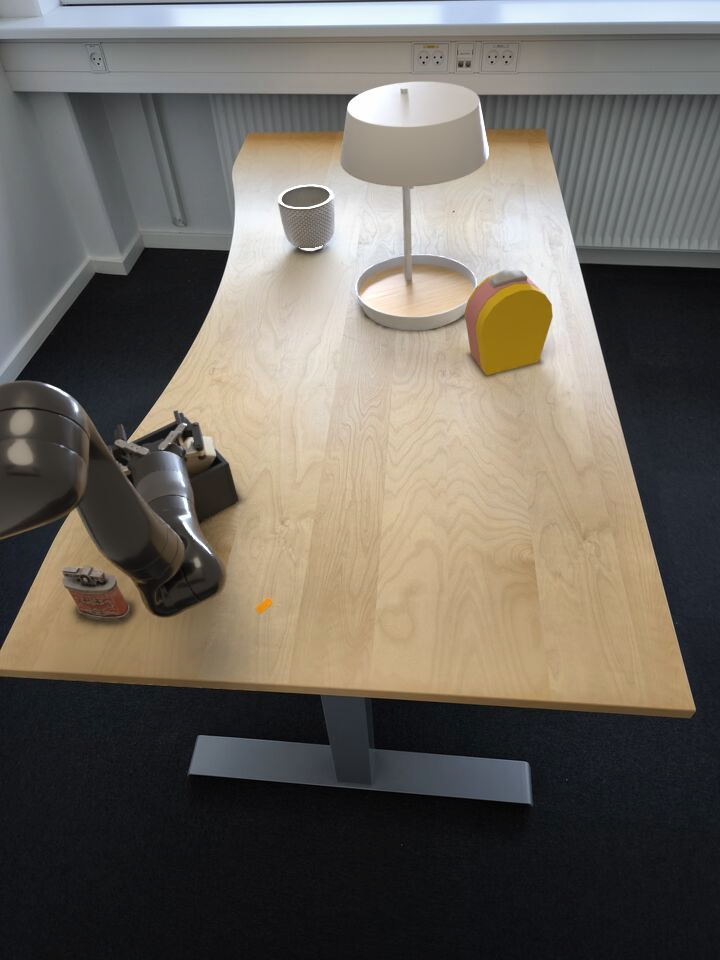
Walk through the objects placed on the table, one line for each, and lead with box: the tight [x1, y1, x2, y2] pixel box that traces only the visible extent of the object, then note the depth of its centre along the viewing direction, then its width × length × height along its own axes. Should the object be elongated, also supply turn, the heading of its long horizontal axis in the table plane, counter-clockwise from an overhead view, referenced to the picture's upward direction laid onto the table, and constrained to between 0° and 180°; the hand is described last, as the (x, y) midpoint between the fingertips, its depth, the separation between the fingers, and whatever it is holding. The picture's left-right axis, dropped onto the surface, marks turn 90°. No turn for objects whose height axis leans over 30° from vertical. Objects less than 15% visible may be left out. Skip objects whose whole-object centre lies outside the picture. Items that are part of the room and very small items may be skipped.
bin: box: [116, 416, 239, 524], centre depth 123 cm, size 16×16×9 cm
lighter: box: [61, 565, 132, 622], centre depth 107 cm, size 8×3×10 cm, turn 80°
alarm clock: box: [464, 268, 553, 376], centre depth 142 cm, size 15×8×18 cm, turn 108°
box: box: [184, 435, 216, 479], centre depth 121 cm, size 5×4×11 cm
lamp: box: [339, 81, 490, 332], centre depth 151 cm, size 29×29×43 cm
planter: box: [277, 184, 336, 248], centre depth 184 cm, size 14×14×13 cm
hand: (149, 422), depth 112 cm, fingers open, 8 cm apart
